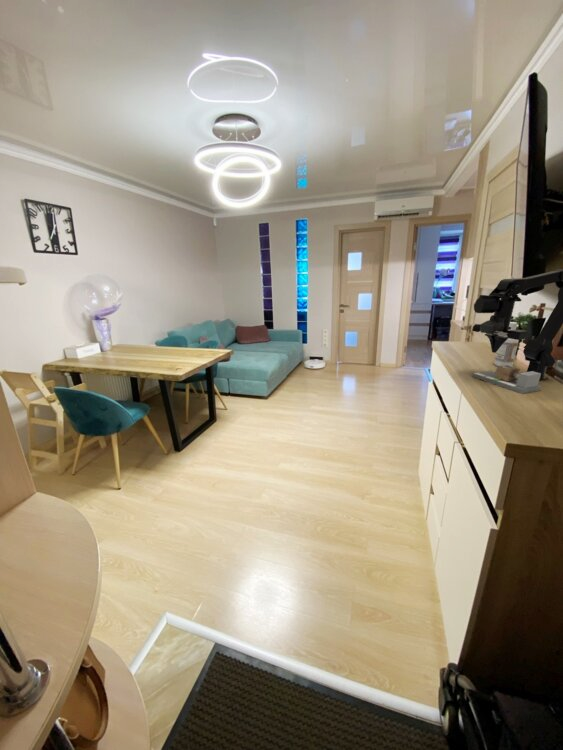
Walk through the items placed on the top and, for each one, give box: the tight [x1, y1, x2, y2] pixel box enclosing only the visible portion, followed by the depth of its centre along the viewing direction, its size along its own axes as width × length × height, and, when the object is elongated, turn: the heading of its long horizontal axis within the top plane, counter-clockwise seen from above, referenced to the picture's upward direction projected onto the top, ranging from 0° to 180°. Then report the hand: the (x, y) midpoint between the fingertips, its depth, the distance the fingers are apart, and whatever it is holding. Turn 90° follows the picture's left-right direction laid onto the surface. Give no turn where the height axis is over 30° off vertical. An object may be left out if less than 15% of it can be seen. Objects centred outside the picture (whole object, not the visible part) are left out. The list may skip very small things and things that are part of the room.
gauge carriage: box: [495, 365, 521, 382], centre depth 118 cm, size 7×8×5 cm
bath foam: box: [494, 321, 519, 367], centre depth 139 cm, size 7×7×20 cm
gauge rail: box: [472, 370, 542, 395], centre depth 120 cm, size 10×20×6 cm, turn 21°
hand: (493, 352), depth 123 cm, fingers closed
